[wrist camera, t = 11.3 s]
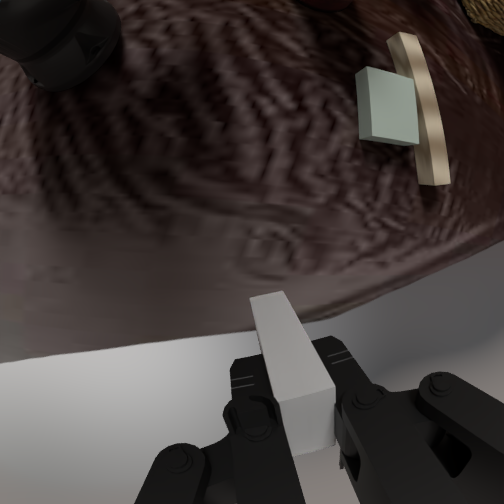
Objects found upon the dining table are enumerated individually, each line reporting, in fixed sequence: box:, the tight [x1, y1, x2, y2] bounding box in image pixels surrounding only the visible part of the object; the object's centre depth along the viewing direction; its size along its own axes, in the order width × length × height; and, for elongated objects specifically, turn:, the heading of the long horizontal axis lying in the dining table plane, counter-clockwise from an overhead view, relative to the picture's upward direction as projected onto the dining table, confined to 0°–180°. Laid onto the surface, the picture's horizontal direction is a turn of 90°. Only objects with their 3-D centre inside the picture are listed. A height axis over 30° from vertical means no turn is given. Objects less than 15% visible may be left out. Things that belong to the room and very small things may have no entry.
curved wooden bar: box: [386, 32, 450, 186], centre depth 32 cm, size 24×4×4 cm, turn 11°
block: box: [355, 66, 419, 146], centre depth 32 cm, size 10×8×4 cm
